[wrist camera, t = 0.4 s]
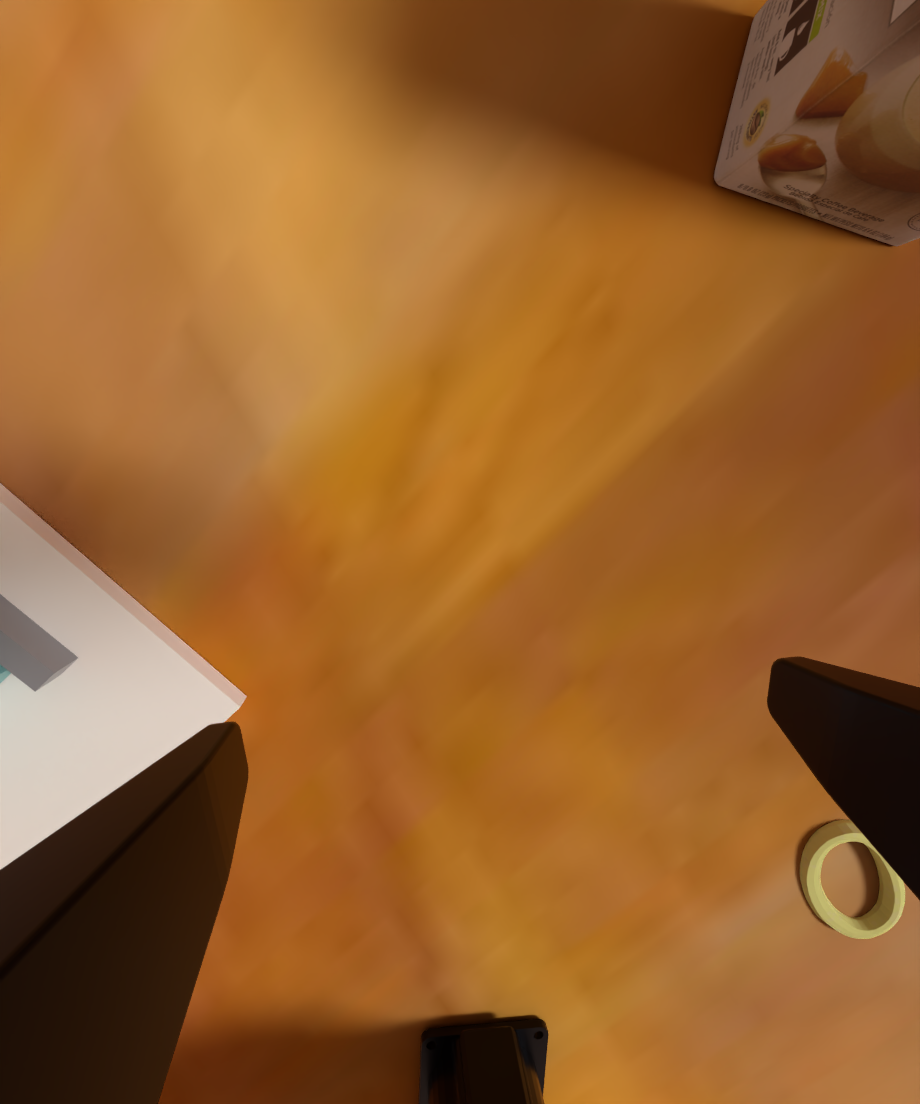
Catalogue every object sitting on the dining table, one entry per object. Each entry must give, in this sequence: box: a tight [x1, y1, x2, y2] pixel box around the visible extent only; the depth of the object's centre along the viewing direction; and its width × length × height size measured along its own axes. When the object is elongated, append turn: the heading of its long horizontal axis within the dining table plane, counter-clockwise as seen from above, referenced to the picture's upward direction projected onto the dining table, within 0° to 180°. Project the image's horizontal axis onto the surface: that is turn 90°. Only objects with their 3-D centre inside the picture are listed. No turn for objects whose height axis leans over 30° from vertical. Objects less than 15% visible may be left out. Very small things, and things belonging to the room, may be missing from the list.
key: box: [800, 820, 905, 939], centre depth 28 cm, size 7×12×2 cm, turn 136°
